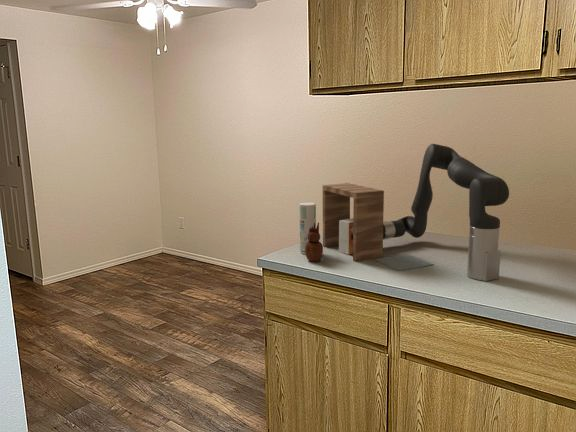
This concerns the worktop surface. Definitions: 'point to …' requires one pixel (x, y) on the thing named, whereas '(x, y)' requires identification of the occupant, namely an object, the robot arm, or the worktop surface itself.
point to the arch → (355, 218)
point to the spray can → (306, 222)
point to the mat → (403, 262)
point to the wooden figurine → (314, 245)
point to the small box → (346, 236)
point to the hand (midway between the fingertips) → (346, 235)
